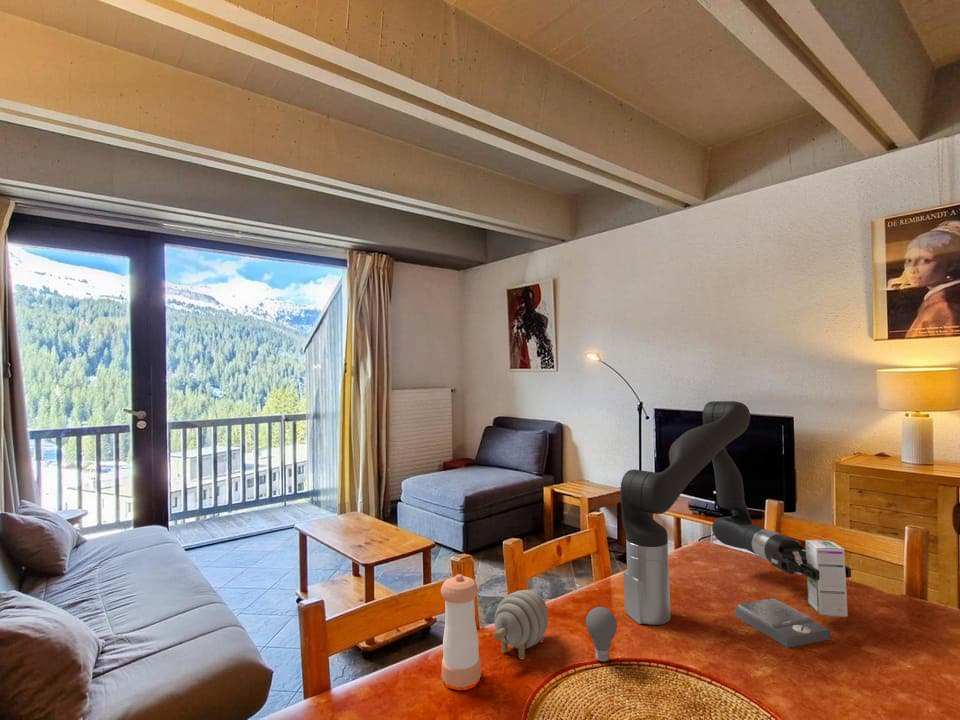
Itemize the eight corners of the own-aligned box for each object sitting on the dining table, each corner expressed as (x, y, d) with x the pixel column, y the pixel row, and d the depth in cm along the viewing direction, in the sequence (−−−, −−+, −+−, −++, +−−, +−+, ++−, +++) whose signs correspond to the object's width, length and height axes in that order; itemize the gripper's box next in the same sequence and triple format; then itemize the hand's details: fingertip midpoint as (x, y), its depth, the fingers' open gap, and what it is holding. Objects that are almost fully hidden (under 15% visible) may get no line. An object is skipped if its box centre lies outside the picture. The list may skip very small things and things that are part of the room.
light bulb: (596, 671, 94) (594, 617, 94) (581, 654, 100) (580, 604, 100) (624, 665, 96) (622, 612, 96) (608, 649, 101) (606, 599, 102)
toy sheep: (560, 636, 107) (559, 584, 107) (525, 677, 93) (524, 617, 93) (517, 624, 113) (515, 574, 113) (477, 661, 98) (476, 604, 99)
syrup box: (848, 617, 106) (846, 548, 106) (818, 615, 107) (815, 547, 108) (835, 605, 112) (833, 540, 112) (806, 603, 113) (804, 538, 113)
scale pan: (772, 627, 104) (772, 624, 105) (738, 607, 114) (738, 604, 114) (810, 620, 107) (810, 617, 107) (774, 601, 116) (773, 598, 116)
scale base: (787, 647, 100) (786, 636, 100) (735, 616, 114) (735, 605, 114) (830, 639, 103) (829, 628, 103) (774, 609, 117) (774, 599, 117)
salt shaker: (436, 688, 90) (434, 581, 91) (448, 665, 97) (446, 566, 98) (475, 693, 88) (473, 584, 89) (484, 670, 95) (482, 569, 96)
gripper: (750, 535, 123) (804, 559, 106) (801, 531, 125) (861, 554, 109) (751, 566, 122) (805, 594, 106) (802, 562, 125) (863, 589, 109)
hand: (833, 574), depth 108 cm, fingers closed on syrup box, 7 cm apart
